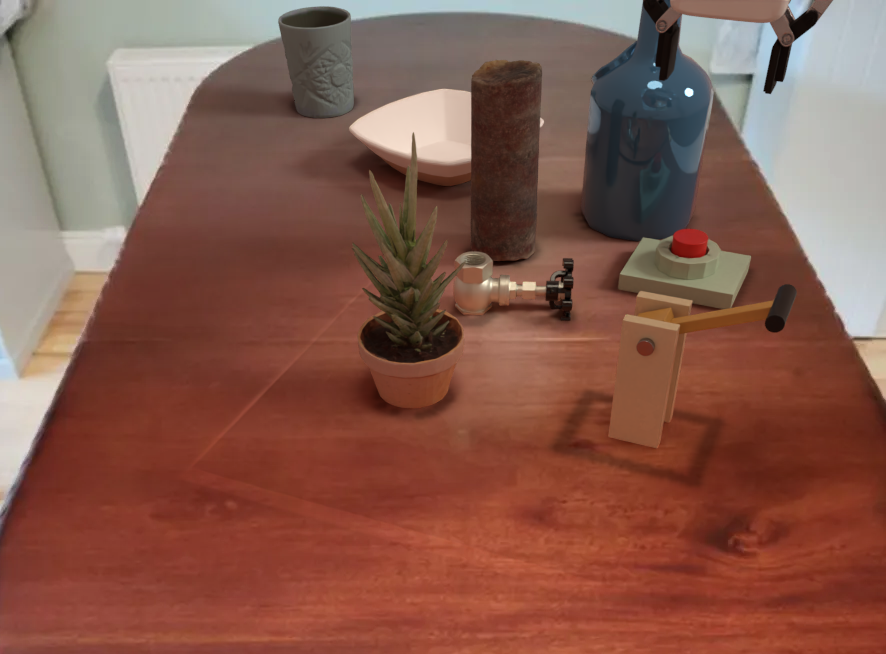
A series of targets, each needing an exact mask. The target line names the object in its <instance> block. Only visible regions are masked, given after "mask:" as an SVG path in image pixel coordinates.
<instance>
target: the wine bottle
mask: <svg viewBox="0 0 886 654" xmlns="http://www.w3.org/2000/svg"><path fill="white" fill-rule="evenodd" d="M664 1H665V3H666V4H667V6H668V7H670V6H671V4H670V0H664ZM682 22H683V14H682V15H681V16H680V17H679V18H678V19H677V24H679V26H678V27H680V32H679V39H678V46H677V53H676V61H675V67H674V71H673V72H672V74H671V75H670V76H669V78H668V79H667V80H665V81H661V80H659V74H660V67H655V61H656V53H657V45H658V37H659V32H658V31H657V30H656V27H655V26H656V25H655V23H654V22H653V20H652V19H651V17H650V16H649V14H648V13H647V12H646V10H645V9H644V7H643V3H642V4H641V11H640V18H639V24H638V25H639V26H638V32H637V33H638V34H637V39H636V40H635V41H634V42H633V43H632V44H630V45H629V46H627V48H625V49H624V50H623V51H621V52H620V53H619V54H618V55H617V56H616V57H615V58H613V59H612V60H610V61H609V62H607V63H606V64H604V65H602V66H601V67H600V68H599V69H597V70H596V71H595V72H594V73H593V74H592V75H591V77H590V82H591V83H592V87H591V89H590V94H589V104H588V106H589V107H588V118H587V128H586V129H587V130H586V141H585V142H586V143H585V151H584V152H585V155H584V164H583V178H582V189H581V201H580V202H581V203H580V210H581V212H582V215H583V218H584V219H585V221H586V222H587V225H588V226H589V228H591V229H592V230H595V231H596V232H599V233H600V234H603V235H605V236H607V237H608V238H614V239H619V240H620V239H621V240H626V241H633V242H640V241H641V240H642V238H643V237H644V238H650V239H656V240H663V239H665V238H668V237H670V236H673V235H674V233H675V232H676V231H678V230H682V229H687V227H688V225H689V223H690V221H691V220H692V217H693V215H694V214H695V210H696V206H697V205H696V204H697V199H698V192H699V188H700V187H699V185H700V181H701V174H702V167H703V161H704V155H705V149H706V144H707V138H708V133H709V127H710V126H709V125H710V120H711V116H712V115H711V114H712V108H713V102H714V94H715V92H714V86H713V83H712V79H711V78H710V76H709V74H708V73H707V71H705V70H704V68H702V66H701V65H700V64H699V63H698V62H697V61H695V60H694V59H693V58H692V57H691V56H689V55H688V54H687V55H686V54H685V53H684V52H683V51H682V48H681V47H680V39H681V32H682V31H681V30H682Z"/></svg>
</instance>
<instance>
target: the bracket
mask: <svg viewBox="0 0 886 654" xmlns="http://www.w3.org/2000/svg"><path fill="white" fill-rule="evenodd" d="M635 298H636V299H635V306H634V312H633V313H634V314H628V313H626V314H625V315H624V317H623V318H622V321H621V329H620V338H619V345H618V346H619V347H618V354H617V361H616V362H617V363H616V370H615V376H614V377H615V378H614V387H613V395H612V402H611V410H610V419H609V428H608V438H611V439H615V440H620V441H624V442H628V443H631V444H637V445H640V446H645V447H649V448H653V449H658V448H659V447H660V444H661V441H662V435H663V429H664V423H667V424H670V423H671V422H672V419H673V416H674V410H675V404H676V400H677V399H676V397H677V391H678V388H679V382H680V376H681V369H682V365H683V359H684V353H685V348H686V341H687V335H688V333H684V334H679V329H680V325H679V324H674V323H669V322H664V321H659V320H654V319H649V318H644V317H639V316H638V314H639V313H644V312H649V311H655V310H660V309H666V308H671V309H672V312H673V316H674V318H678V317H684V316H689V315H691V312H692V308H693V307H692V306H693V303H692V302H693V301H692V300H687V299H682V298H676V297H671V296H666V295H660V294H655V293H650V292H644V291H640V292H639V293H637V295H636V296H635Z"/></svg>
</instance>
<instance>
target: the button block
mask: <svg viewBox="0 0 886 654" xmlns="http://www.w3.org/2000/svg"><path fill="white" fill-rule="evenodd" d="M672 241H673V235H672V236H670V237H668V238H665V239H657V240H656V239H650V238H644V237H643V238H642V240H641V241H639V243H638V244H637V246H636V247H635V249H634V250H633V252H632V254H631V255H630V257H629V258H628V260H627V262H626V263H625V265H624V267H623V268H622V270H621V271H620V273H619V275H618V276H619V277H618V283H617V284H618V285H617V290H619V291H624V292H630V293H635V294H638V293H639V292H640V291H644V292H650V293H655V294H660V295H666V296H671V297H676V298H682V299H687V300H692V301H693V302H692V304H694V305H700V306H705V307H710V308H715V309H719V310H723V309H728V308H733V305H734V303H735V301H736V298H737V296H738V294H739V292H740V289H741V287H742V285H743V284H744V281H745V280H746V277H747V275H748V273H749V269H750V265H751V260H752V256H751V255H749V254H744V253H737V252H732V251H725V250H722V249H721V248H720V246H719V245H718V243H717V242H715V241H713V240H711V239H710V238H708V243H707V249H706V254H705V256H703V257H700V258H683V257H678V256H676V255H674V254H673V253H671V247H672Z"/></svg>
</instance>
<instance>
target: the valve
mask: <svg viewBox="0 0 886 654" xmlns="http://www.w3.org/2000/svg"><path fill="white" fill-rule="evenodd" d="M465 261H466V262H465ZM463 262H465V264H464V266H463V267H462V269H461V270H460V271H459V272H458V273H457V275H456V276H455V279H454V281H453V285H452V295H453V298H454V301H455V304H454V307H455V308H456V309H457V310H458V311H459V312H460V313H461V314H462V316H483V315H484V314H485V313H487V312H488V311H489V310H491V308H493V304H492V303H498V305H499V306H510V300H516V299H517V298H518V297H521V300H536V297H544V298H545V299H544V300H545V302H548V306H549V307H550V309H551V310H561V312H562V314H563V315H564V316H562V315H561V316H560V321H561V322H564V321H565V322H570V321H571V317H572V314H571V312H572V311H573V299H572V291H573V289H574V282H575V279H574V276H573V272H574V265H575V261H574V259H573V258H572V257H563V258H562V263H561V266H562V268H563V269H564V270H562V269H561V270H556V271H554V272H552V274H551V275H550V277H549V280H545V285H537V282H536V281H522V284H518V283H517V281H511V275H510V274H499V277H497V278H496V277H492V276H494V275H493V271H494V270H493V269H494V261H493V260H492V259H491V258H490V257H489V256H488V255H487V254H485V253H482V252H475V251H474V252H473V251H467V252H463V253H461V254H459V255H458V256H456V258H455V259H454V271H455V270H456V269H457V268H458V267H459V266H460V265H461V264H462V263H463ZM558 278H560V280H557V279H558ZM555 302H561V304H556V303H555Z"/></svg>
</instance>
